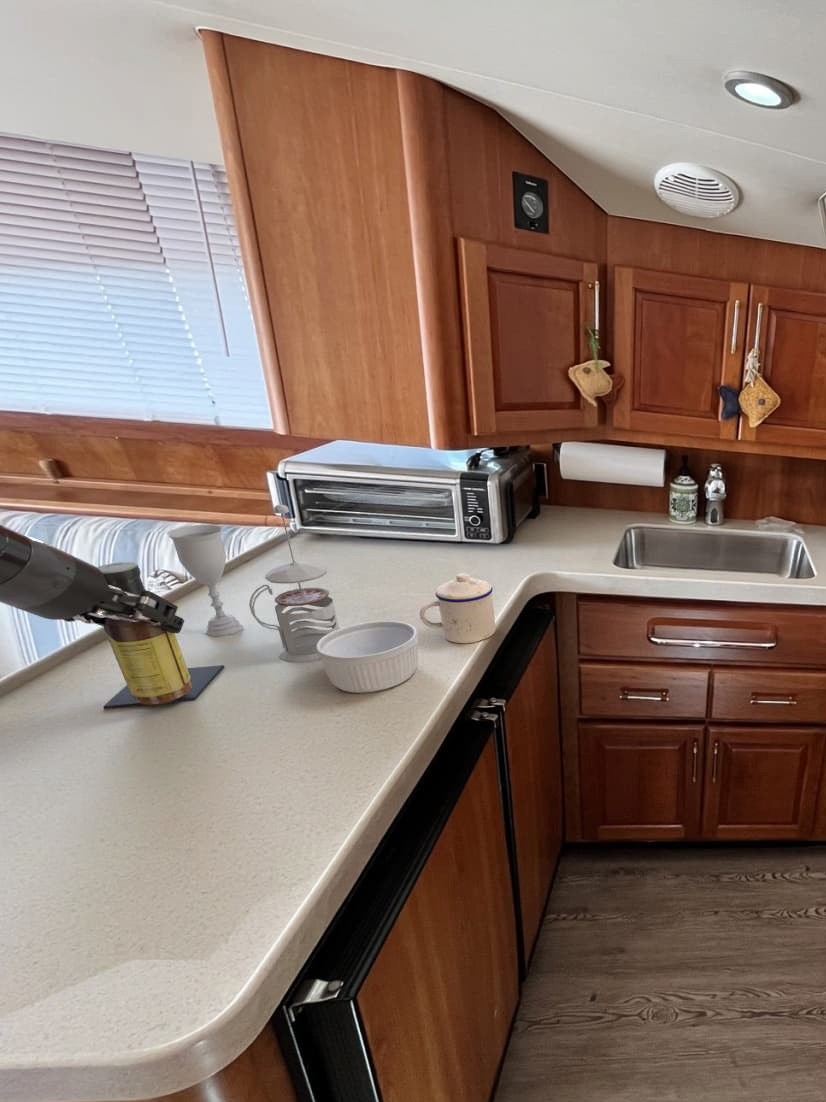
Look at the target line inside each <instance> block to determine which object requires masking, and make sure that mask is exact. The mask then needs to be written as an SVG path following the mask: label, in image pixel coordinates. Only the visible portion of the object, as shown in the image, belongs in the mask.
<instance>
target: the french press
mask: <svg viewBox="0 0 826 1102" xmlns="http://www.w3.org/2000/svg"><path fill="white" fill-rule="evenodd" d="M273 512H274V514H280V515H281V518H282V522H283V527H284V531H285V535H286V539H287V542H288V548H289V551H290V556H291V559H292V562H286V563H284V564H281V565H278V566H276V567H273V568H271V569H270V570H269V571H268V572H266V573H265V574H264V579H265V580H267V582H269V583H272V584H280V585H281V584H298V588H296V589H291V590H287V591H284V592H282V593H279V594H278V595H277V596H276V597H274V602H275V603H276V604H275V606H274V611H275V614H276V619H277V622H278V625H277V624H271V623H266V622H264V621H262V620H260V619H259V617H258V616H256V611H255V605H256V601H257V599H258V597H259V596H260V595H261V594H262V593H263V592H265V591H267V590H268V591H267V592H268V593H269V595H271V596H273V595H274V594H273V589H272V588H271V587H270V585H268V584H262V585H261V586H259V587H258V588H256V589H255V590H254V592H253V593H252V594H251V596H250V599H249V609H250V613H251V616H253V618H254V619H255V620H256V622H257V623H258V624H259V625H260V626H262V627H263V628H266V629H269V630H275V631H278V633H279V637H280V641H281V644H282V647H281V649H280V650H279V651H278V657H279V658H280V659H282V660H283V661H287V662H294V663H302V662H314V661H318V660H321V659H320V658H319V656H318V654H317V648H316V645H317V643H318V641H319V640H320V639H321V638H323V637H324V636H325V635H327V634H329V633H331V632H333V631H335V630H338V629H340V627H339V622H338V616H337V614H336V608H335V603H334V600H333V598H332V597H330V596H329V595H330V591H329V590H328V589H325V588H322V587H303V588H302V587H301V583H306V582H310V581H314V580H318V579H320V578H323V576H325V575H326V574H327V572H328V567H326V566H324V565H322V564H319V563H315V562H309V561H295V558H294V557H295V556H294V553H293V549H292V545H291V542H290V538H289V537H290V536H289V532H288V529H287V525H286V520H285V516H284V514H286V513H289V512H290V509H289V506H287V505H286V504H277V505H275V506H274V508H273ZM264 587H265V588H264ZM263 588H264V589H263ZM261 589H262V590H261ZM259 590H260V591H259ZM258 591H259V592H258ZM304 606H312V607H317V608H319V609H314V608H311V607H304ZM288 607H291V608H290V609H288V610H286V609H287V608H288ZM284 610H286V611H285V612H283V611H284ZM300 611H303V612H300ZM294 612H298V613H294ZM299 612H300V613H299ZM310 620H316V621H321V622H315V621H310ZM314 627H319V628H325V629H319V628H314ZM326 628H327V629H326ZM330 628H331V629H330Z"/></svg>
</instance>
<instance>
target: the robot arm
mask: <svg viewBox="0 0 826 1102" xmlns="http://www.w3.org/2000/svg"><path fill="white" fill-rule="evenodd" d="M0 603H1V604H4V605H7V606H10V607H12V608H15V609H18V610H21V611H23V612H26V613H29V614H31V615H34V616H37V617H40V618H43V619H47V620H54V621H56V620H57V621H59V620H60V621H61V620H62V621H65V622H68V623H70V622H76V621H80V622H82V623H84V624H88V625H90V624H91V625H94V624H95V625H98V626H99V627H100V626H101V627H103V628H104V625H105V617H108V618H112V619H116V620H120V621H123V622H127V623H133V622H138V621H139V622H143V623H147V624H151V625H153V626H156V627H158V628H160V629H163V630H165V631H168V632H170V633H175V634H179V633H181V631H182V629H183V626H184V624H185V620H184V618H183V617H181V616H178V615H176V613H177V611H178V609H179V606H177V604H175V603H172V602H170V601H169V600H167V599H166V598H163V597H161V596H160V595H158V594H156V593H154V592H152V591H150V590H146V591H141V592H140V595H139V596H138V595H135V594H131V593H128V592H124V591H122V590H121V589H120V588H117V587H114V586H110V585H108V584H107V582H106V580H105V577H104V575H103V573H102V572H101V571H100V570H99V569H98V568H97V566H95V565H94V564H92V563H89V562H87V561H85V560H83V559H80V558H78V557H76V556H75V555H72V554H70V553H68V552H67V551H64V550H62V549H60V548H57V547H55V546H54V545H52V544H50V543H47V542H45V541H43V540H40V539H38V538H34V537H32V536H29V535H25V534H23V533H21V532H18V531H17V530H14V529H12V528H10V527H8V526H6V525H4V524H1V523H0ZM128 605H132V609H131V611H130V613H129V616H126V615H122V614H124V613H125V612H126V610H127V607H128ZM142 614H144V615H146V616H148V617H150V618H147V617H144V616H143V615H142Z"/></svg>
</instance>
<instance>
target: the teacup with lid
mask: <svg viewBox="0 0 826 1102" xmlns="http://www.w3.org/2000/svg"><path fill="white" fill-rule="evenodd" d="M492 592H493V587H492V585H491V584H490V583H489V582H488V581H486V580H484V579H478V578H473V577H470V575H469V574H468V573H466V572H462V573H458V574H456V578H454V579H453V580H452V579H451V581H447V582H445V583H442V584H441V585H439V586H438V587H437V589H436V591H435V597H436V598H437V600H434V601H433V600H432V601H429V602H426V603H424V604H423V605H422V606H421V607H420V608H419V613H418V614H419V618H420V620H421V621H422V623H423V624H424V625H425V626H427V627H429V628H433V629H440V628H441V629H442V635H443V637H444V639H446V641H448V642H450V643H455V644H471V643H476V642H480V640H481V641H483V640H482V639H484V640H486V639H488V638H490V637H492V636H493V635H494V634H495V633H496V630H497V628H496V620H495V610H494V601H493V594H492ZM434 607H438V609H439V616H440V622H431V621H429V620H428V619H427V618H426V616H425V612H426V611H427V610H428V609H430V608H434ZM485 638H486V639H485Z"/></svg>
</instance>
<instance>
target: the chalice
mask: <svg viewBox="0 0 826 1102" xmlns="http://www.w3.org/2000/svg"><path fill="white" fill-rule="evenodd" d="M222 531H223V527H222V526H220V525H215V524H197V525H196V524H194V525H193V524H192V525H187V526H181V527H177V528H173V529H171V530H168V531H167V532H166V535H167V537H169V538H170V539H171V540H172V542H173V545H174V549H175V552H176V554H177V559H178V561H179V563H180V564H181V565H182V566H183V568H184V569H185V570H186V571H187V573H189V575H191V577H193V578H194V579H195V580H196V581H197V582H198V583H199V584H201V585H205V586H207V587H208V593H207V596H208V597H210V599H211V604H210V607H213V609H214V610H215V614H214V616H212V617H210V619H209V620H208V621H207V626H206V630H205V634H206V635H207V636H209V637H210V636H212V637H220V636H227V635H232V634H234V633H237V632H239V631H241V630H243V629H244V625H243V623H241V622H240V621H239V619H237V618H236V616H234V615H233V614H227V613H226V612H224V611H223V606H224V604H225V603H224V602H223V601H221V599H220V595H221V593H220V591H218V589H217V588H216V584H217V583H219V582H221V580H222V577H223V574H224V570H225V567H226V561H227V553H226V550H225V546H224V543H223V539H222V535H221V534H222Z"/></svg>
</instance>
